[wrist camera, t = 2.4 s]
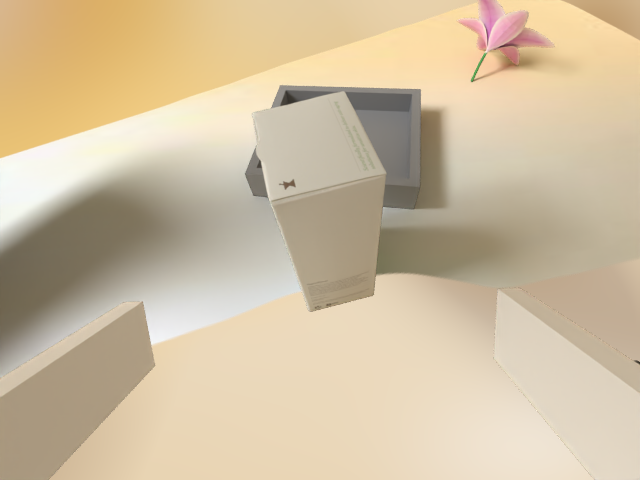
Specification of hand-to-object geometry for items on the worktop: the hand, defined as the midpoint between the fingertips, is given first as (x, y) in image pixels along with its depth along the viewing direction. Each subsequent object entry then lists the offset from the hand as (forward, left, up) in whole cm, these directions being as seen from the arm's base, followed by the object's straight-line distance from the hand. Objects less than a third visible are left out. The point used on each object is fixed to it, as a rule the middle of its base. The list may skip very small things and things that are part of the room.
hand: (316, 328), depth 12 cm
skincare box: (-2, +11, -16) cm, 19 cm away
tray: (-3, +27, -16) cm, 31 cm away
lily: (+16, +46, -16) cm, 51 cm away
